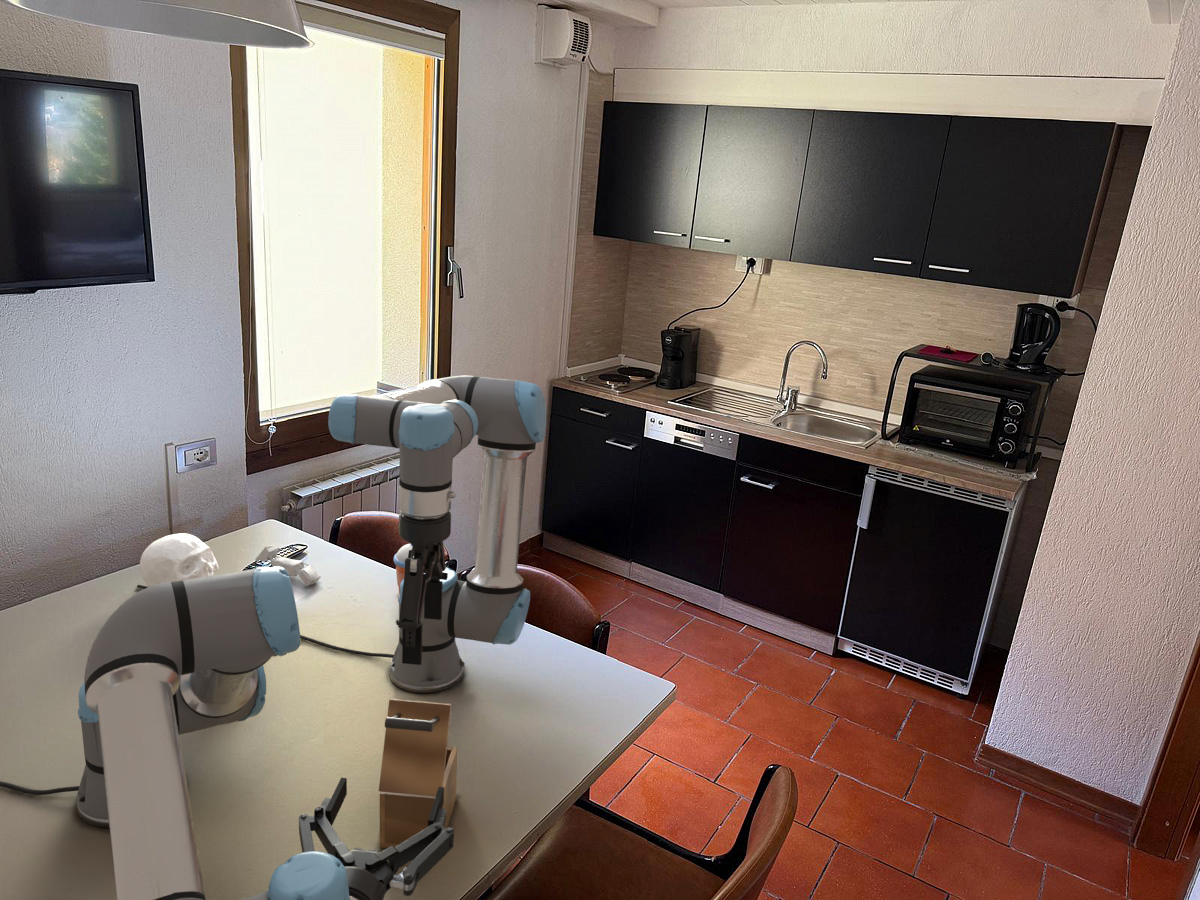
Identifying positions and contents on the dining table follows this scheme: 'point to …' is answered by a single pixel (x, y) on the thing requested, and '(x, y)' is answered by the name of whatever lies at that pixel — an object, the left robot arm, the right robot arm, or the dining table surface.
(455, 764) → the cabinet
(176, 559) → the skull
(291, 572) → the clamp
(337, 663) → the dining table surface
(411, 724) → the wooden door with handle
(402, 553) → the cup with straw
